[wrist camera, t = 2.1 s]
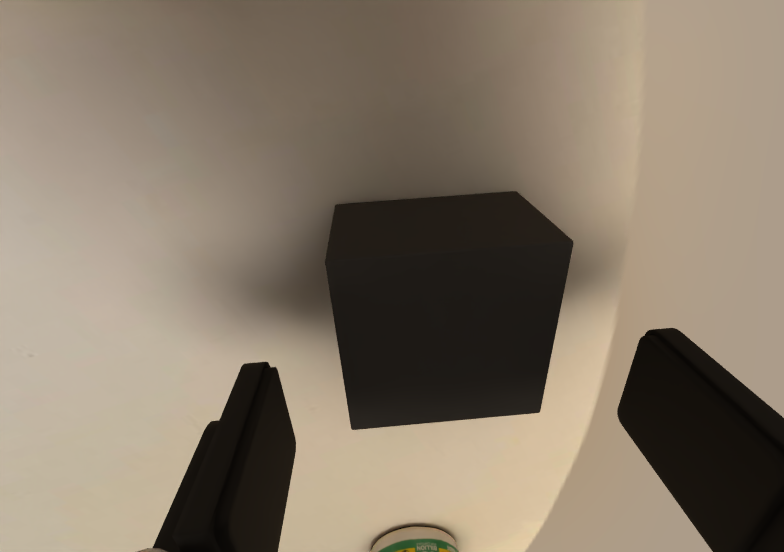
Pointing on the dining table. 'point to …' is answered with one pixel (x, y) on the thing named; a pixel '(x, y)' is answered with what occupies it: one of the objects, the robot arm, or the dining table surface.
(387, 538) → the supplement bottle
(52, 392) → the dining table surface
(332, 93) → the dining table surface
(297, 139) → the dining table surface
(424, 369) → the pad
